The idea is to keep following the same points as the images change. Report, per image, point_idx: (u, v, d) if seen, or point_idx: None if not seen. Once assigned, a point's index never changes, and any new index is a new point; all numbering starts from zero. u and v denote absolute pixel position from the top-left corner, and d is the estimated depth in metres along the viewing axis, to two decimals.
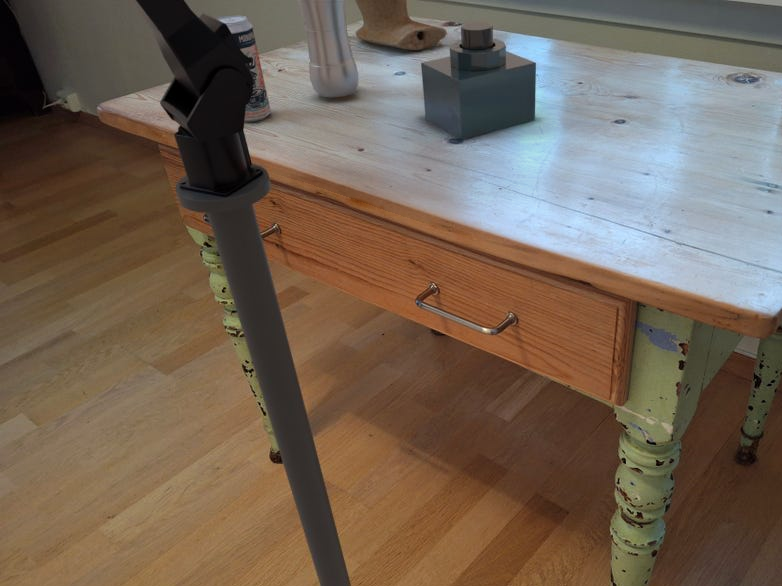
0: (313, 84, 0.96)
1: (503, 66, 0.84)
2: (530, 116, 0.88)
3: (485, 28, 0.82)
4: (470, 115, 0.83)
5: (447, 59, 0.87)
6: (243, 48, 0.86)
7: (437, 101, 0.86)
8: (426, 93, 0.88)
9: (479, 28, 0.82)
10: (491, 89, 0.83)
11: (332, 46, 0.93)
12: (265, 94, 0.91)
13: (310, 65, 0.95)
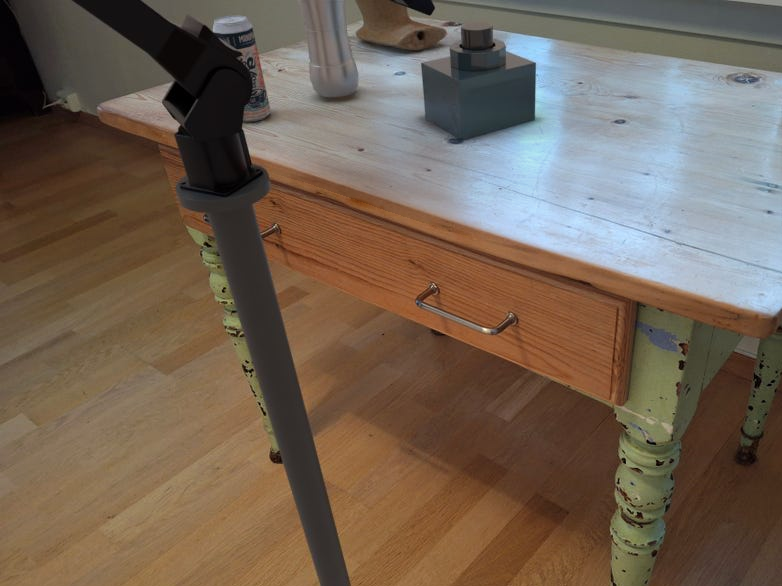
0: (313, 84, 0.96)
1: (503, 66, 0.84)
2: (530, 116, 0.88)
3: (485, 28, 0.82)
4: (470, 115, 0.83)
5: (447, 59, 0.87)
6: (243, 48, 0.86)
7: (437, 101, 0.86)
8: (426, 93, 0.88)
9: (479, 28, 0.82)
10: (491, 89, 0.83)
11: (332, 46, 0.93)
12: (265, 94, 0.91)
13: (310, 65, 0.95)
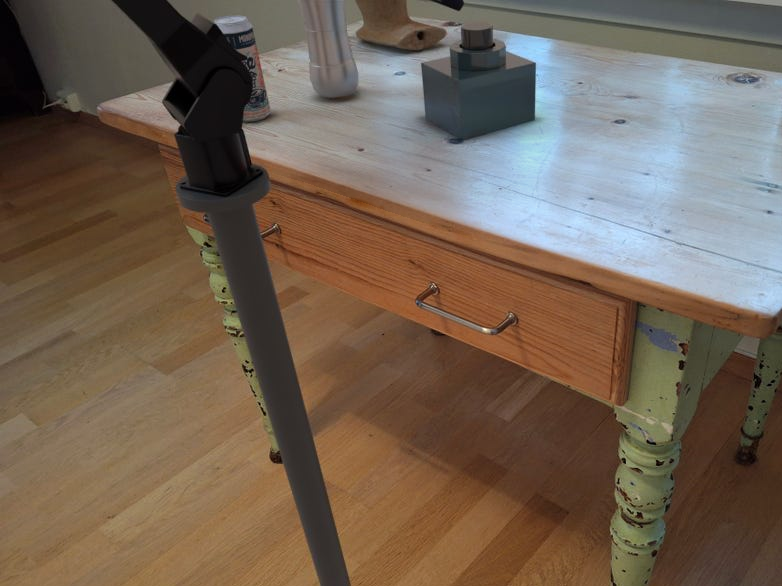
0: (313, 84, 0.96)
1: (503, 66, 0.84)
2: (530, 116, 0.88)
3: (485, 28, 0.82)
4: (470, 115, 0.83)
5: (447, 59, 0.87)
6: (243, 48, 0.86)
7: (437, 101, 0.86)
8: (426, 93, 0.88)
9: (479, 28, 0.82)
10: (491, 89, 0.83)
11: (332, 46, 0.93)
12: (265, 94, 0.91)
13: (310, 65, 0.95)
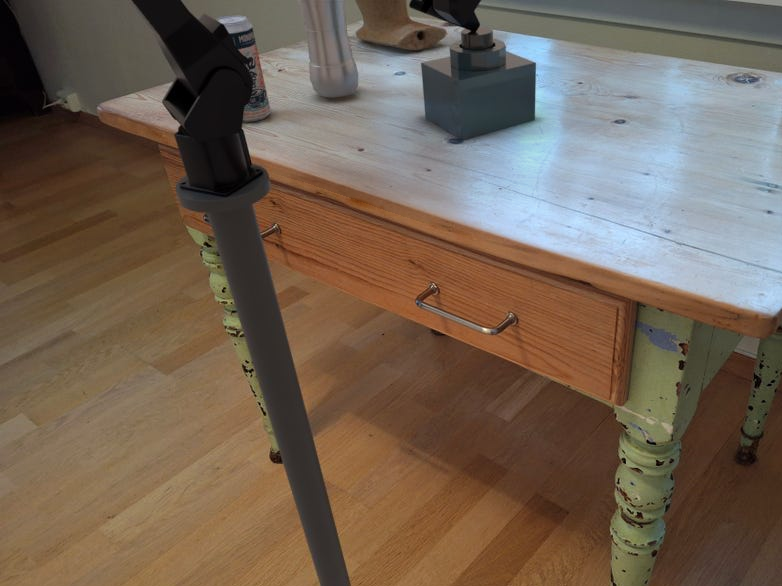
0: (313, 84, 0.96)
1: (503, 66, 0.84)
2: (530, 116, 0.88)
3: (485, 33, 0.82)
4: (470, 115, 0.83)
5: (447, 59, 0.87)
6: (243, 48, 0.86)
7: (437, 101, 0.86)
8: (426, 93, 0.88)
9: (479, 33, 0.82)
10: (491, 89, 0.83)
11: (332, 46, 0.93)
12: (265, 94, 0.91)
13: (310, 65, 0.95)
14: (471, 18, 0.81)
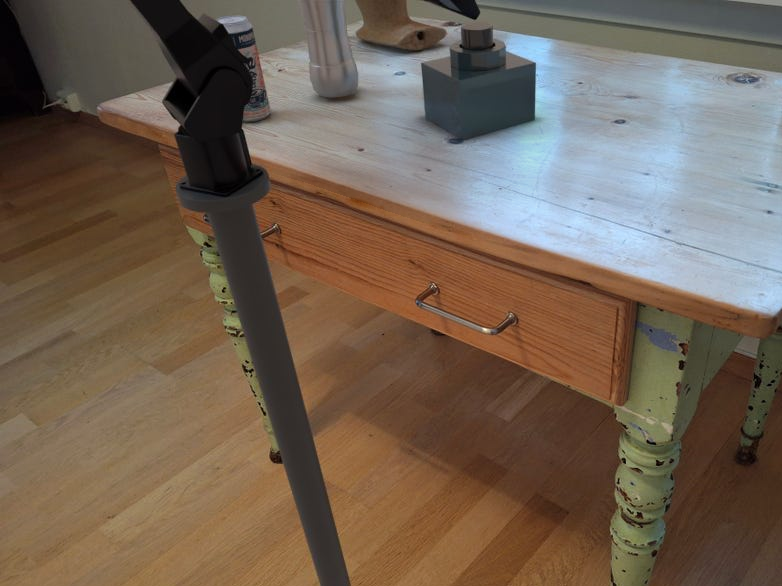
0: (313, 84, 0.96)
1: (503, 66, 0.84)
2: (530, 116, 0.88)
3: (485, 28, 0.82)
4: (470, 115, 0.83)
5: (447, 59, 0.87)
6: (243, 48, 0.86)
7: (437, 101, 0.86)
8: (426, 93, 0.88)
9: (479, 28, 0.82)
10: (491, 89, 0.83)
11: (332, 46, 0.93)
12: (265, 94, 0.91)
13: (310, 65, 0.95)
14: (471, 6, 0.80)
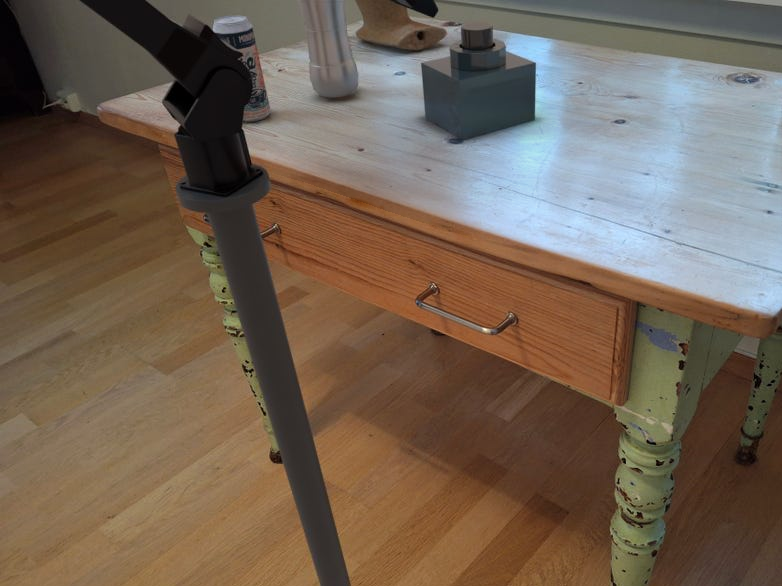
0: (313, 84, 0.96)
1: (503, 66, 0.84)
2: (530, 116, 0.88)
3: (485, 28, 0.82)
4: (470, 115, 0.83)
5: (447, 59, 0.87)
6: (243, 48, 0.86)
7: (437, 101, 0.86)
8: (426, 93, 0.88)
9: (479, 28, 0.82)
10: (491, 89, 0.83)
11: (332, 46, 0.93)
12: (265, 94, 0.91)
13: (310, 65, 0.95)
14: (428, 2, 0.77)
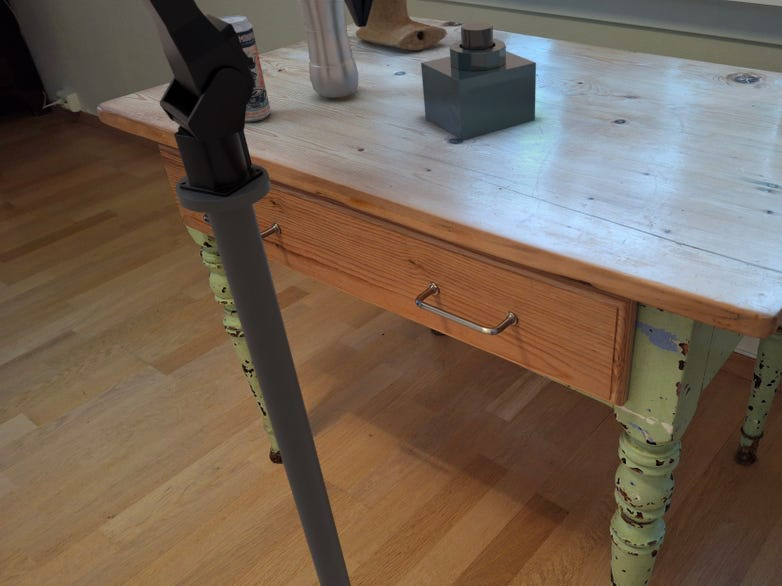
0: (313, 84, 0.96)
1: (503, 66, 0.84)
2: (530, 116, 0.88)
3: (485, 28, 0.82)
4: (470, 115, 0.83)
5: (447, 59, 0.87)
6: (243, 48, 0.86)
7: (437, 101, 0.86)
8: (426, 93, 0.88)
9: (479, 28, 0.82)
10: (491, 89, 0.83)
11: (332, 46, 0.93)
12: (265, 94, 0.91)
13: (310, 65, 0.95)
14: None
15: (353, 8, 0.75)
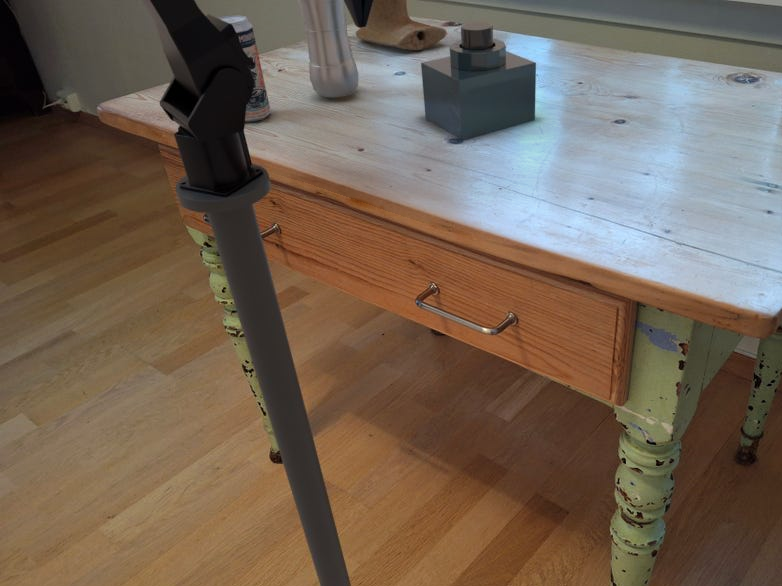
0: (313, 84, 0.96)
1: (503, 66, 0.84)
2: (530, 116, 0.88)
3: (485, 28, 0.82)
4: (470, 115, 0.83)
5: (447, 59, 0.87)
6: (243, 48, 0.86)
7: (437, 101, 0.86)
8: (426, 93, 0.88)
9: (479, 28, 0.82)
10: (491, 89, 0.83)
11: (332, 46, 0.93)
12: (265, 94, 0.91)
13: (310, 65, 0.95)
14: None
15: (353, 8, 0.75)
